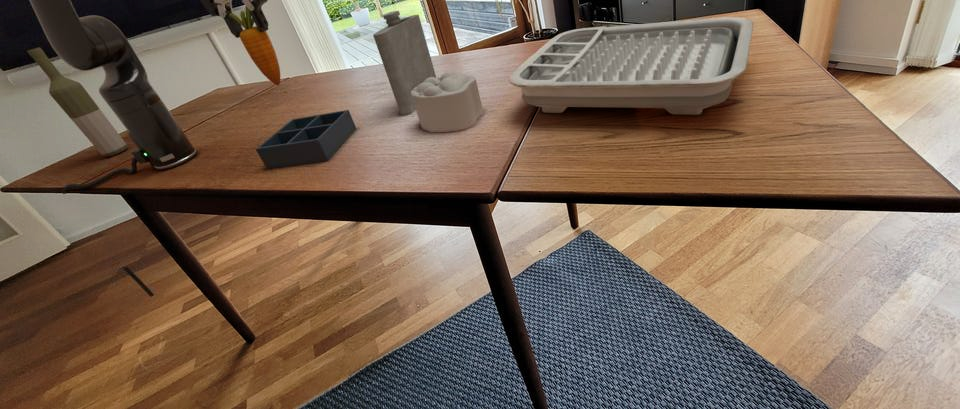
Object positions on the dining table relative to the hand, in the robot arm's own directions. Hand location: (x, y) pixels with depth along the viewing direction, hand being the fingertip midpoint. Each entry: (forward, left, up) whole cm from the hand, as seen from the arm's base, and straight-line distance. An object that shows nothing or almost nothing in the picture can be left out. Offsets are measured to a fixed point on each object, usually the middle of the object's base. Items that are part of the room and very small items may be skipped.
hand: (252, 33), depth 79 cm
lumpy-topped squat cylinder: (+34, 0, -24) cm, 41 cm away
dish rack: (+69, +2, -24) cm, 73 cm away
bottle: (-72, +13, -24) cm, 77 cm away
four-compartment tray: (+4, -4, -24) cm, 24 cm away
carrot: (0, 0, -11) cm, 11 cm away
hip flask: (+23, +15, -24) cm, 36 cm away
